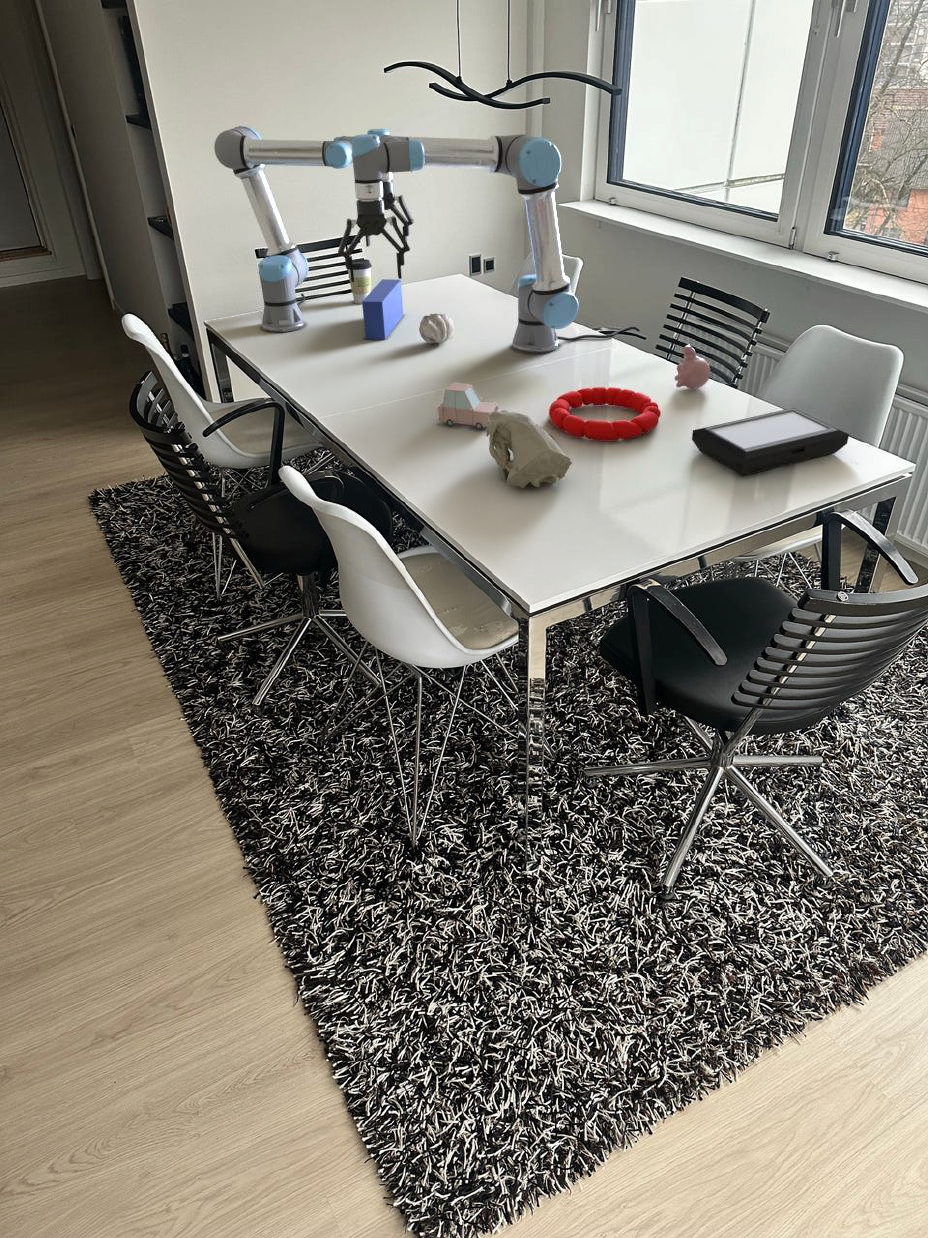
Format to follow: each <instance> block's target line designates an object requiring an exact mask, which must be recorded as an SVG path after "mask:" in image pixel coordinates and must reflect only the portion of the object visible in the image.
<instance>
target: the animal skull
mask: <svg viewBox="0 0 928 1238" xmlns="http://www.w3.org/2000/svg"><path fill="white" fill-rule="evenodd" d="M485 436H486V438H487V437H489V438H488V440H489V444H488V445H489V446H488V450H489V454H490V456H491V457H492V458H493V459H494V460H495V462H496V464H497V466H499V468H500V470H501V471H502V472H501V478H502V479H507V480H506V484H507V486H517V487H518V486H519V488H523V489H524V488H526V486H527V485H529V483H531V485H533V486H534V487H536V488H540V485H541V484H542V482H544V483H549V484H550V485H553V484H555V483H556V482H557V480H561V479H563V478H565V476H566V474H567V472H568V471H569V469H570V467H571V466H572V464H573V462H572V461H571V458H570V457H568V456H567V455H565V453H564V451H562V449H561V448H560V446H559V444H557V443H556V439H555V438H554V436H553V435H551V434H550V433H548V432H547V431H546V430H545V429H544V428H542V427H541V426H539V425H538V424H537V423H536V424H535V422H534V421H533V419H532V418H531V417H530V416H529V415H527V414H524V413H519V412H515V411H509V410H507V409H502V410H500V411H499V410H497V411H496V412H492V413H491V414H490V422H488V423H487V427H486V435H485ZM511 453H512V454H511ZM511 455H512V457H513V458H512V460H511ZM507 474H508V475H507Z"/></svg>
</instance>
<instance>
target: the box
mask: <svg viewBox="0 0 928 1238" xmlns="http://www.w3.org/2000/svg"><path fill="white" fill-rule="evenodd" d="M361 305H362V315H363V326H364V339H365V340H376V341H377V340H383V341H385V340H386V339H387V338H388V337H389V335H390V334H391V332H392V331H393V330H394V328H395V327H396V326H397V325H398V323H399V322H400V320H401V319H402V318H403V316H404V305H403V289H402V279H391V278H389V279H381V280H380V281H379V282H378V284H376V286H375V287H374V288H373V289H372V290H371V292H370V293H369V295H368V296H367V297H366V298H365V299H364V300H363V301H362V304H361Z"/></svg>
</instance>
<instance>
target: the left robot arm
mask: <svg viewBox="0 0 928 1238" xmlns="http://www.w3.org/2000/svg"><path fill="white" fill-rule="evenodd" d="M366 134H375V135H378V137H379V136H381V135H390V131H389V130H388V129H386V128H371V129H368V130H367V133H366ZM354 136H355V135H354ZM354 136H346V135H342V136H336V137H334V138H333V140H305V139H304V140H301V139H300V140H299V139H298V140H297V139H292V140H291V139H263V138H262V137H261V136H260V134H259V133H258V132H257V131H256V130H255V129H253V128H252V127H249V126H245V125H244V126H243V125H239V126H235V127H233V128H230V129H227V130H223V131H221V133H219V134H218V135H217V136H216V138H215V141H214V145H213V149H214V154H215V157H216V159H217V160H218V162H219V163H220V164H221V165H223V167H225V168H226V169H231V170H232V172H233V174H234V176H235V177H236V178H238V179H240V180H241V182H242V185H243V188H244V190H245V194H246V196H247V198H248V201H249V203H250V206H251V208H252V210H253V213H254V216H255V217H256V221H257V223H258V226H259V229H260V231H261V234H262V236H263V239H264V241H265V243H266V246H267V252H266V257H265V258H263V259H261V260H260V261H259V262H258V275H259V281H260V287H261V292H262V293H261V294H262V299H263V313H262V319H261V326H262V330H264V331H265V332H271V333H286V332H293V331H296V330H297V331H298V330H300V329H302V328H304V326H305V319H304V317H303V314H302V312H301V310H300V307H299V306H300V305H302V304H303V303H304V302H305V300H306V297H305V294H304V293H301V294H300V297H302V300H300V301H299V302H297V295H296V294H297V293H296V288H297V287H298V286H300V285H301V284H303V283H304V282H305V280H306V278H307V277H308V274H309V269H310V268H309V261H308V259H307V258H306V256H305V255H304V254H303V253H301V252H300V250H299V248H298V246H297V243H295V242H293V241H292V240H291V238H290V236H289V233H288V230H287V228H286V225H285V223H284V219H283V217H282V215H281V212H280V209H279V207H278V204H277V201H276V199H275V196H274V193H273V191H272V188H271V186H270V184H269V181H268V178H267V174H266V172H265V169H266V167H267V166H284V167H285V166H286V167H287V166H289V167H291V166H292V167H293V166H294V167H295V166H296V167H327V168H328V167H329V168H333V169H337V170H339V169H345V168H347V167H348V166H349V165H351V164H353V160H352V138H353V137H354ZM393 178H394V173H383V174H382V186H383V197H382V198H381V199H383V200H384V211H389V210H390V211H391V212H392V213H393V215H394V216H395V217H397V219H398V220H399V221H400V222H401V223H402V225H403V226H402V235H403V237H404V238H405V240H406V242H407V243H408V237H409V236H410V226H412V225H413V224H414V223H415V220H414V218H413V216H412V214H411V212H410V211H409V208H408V207H407V204H406V203H405V199H404V196H403V195H402V194H400V195H397V196H396V195H395V191H394V181H393ZM395 202H397V203H398V204H399V206H400V208H401V210H402V212H403V214H404V215H403V214H402V212H401V211H400V210H399V209H398V208H397V206H396V205H395ZM363 237H365V246H366V247H367V248H369V247H370V246H371V236H367V235H364V236H363Z"/></svg>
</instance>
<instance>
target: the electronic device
mask: <svg viewBox="0 0 928 1238" xmlns="http://www.w3.org/2000/svg"><path fill="white" fill-rule="evenodd" d="M849 437H850V433H848V432H846V431H843V430H841V429H839V428H837V427H836V426H833V425H831V424H828V423H827V422H824V421H822V420H820V419H818V418H816V417H814V416H812V415H810V414H807V413H806V412H803V411H801V410H800V409H797V408H795V407H790V408H786V409H781V410H777V411H772V412H768V413H764V414H760V415H755V416H750V417H746V418H742V419H736V420H732V421H728V422H724V423H719V424H714V425H710V426H706V427H701V428H697V429H692V434H691V441H692V442H693V443H694V446H695V447H696V448H697V449H698V451H699V452H700V453H702V454H704V455H705V456H707V457H709V458H711V459H712V460H713V461H715V462H717V463H719V464H720V465H723V466H725V467H726V468H728V469H729V470H731V471H733V472H735V473H736V474H738V475H739V476H740V477H744V476H746V475H751V474H752V475H753V474H755V473H759V472H764V471H768V470H772V469H776V468H780V467H784V466H788V465H792V464H795V463H800V462H804V461H808V460H812V459H817V458H820V457H826V456H828V455H834V454H836V453H837V452H839V451H840V450H841V449H842V448H843V447H845V446H846V445H847V444H848V443H849Z"/></svg>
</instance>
